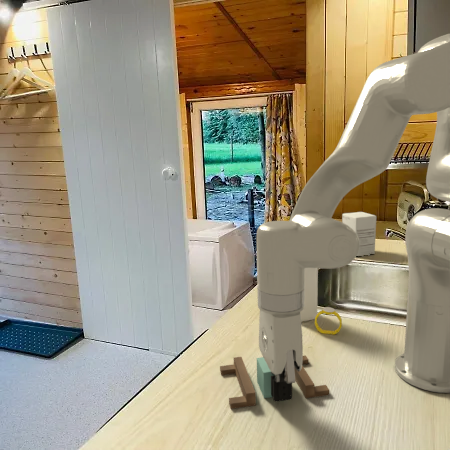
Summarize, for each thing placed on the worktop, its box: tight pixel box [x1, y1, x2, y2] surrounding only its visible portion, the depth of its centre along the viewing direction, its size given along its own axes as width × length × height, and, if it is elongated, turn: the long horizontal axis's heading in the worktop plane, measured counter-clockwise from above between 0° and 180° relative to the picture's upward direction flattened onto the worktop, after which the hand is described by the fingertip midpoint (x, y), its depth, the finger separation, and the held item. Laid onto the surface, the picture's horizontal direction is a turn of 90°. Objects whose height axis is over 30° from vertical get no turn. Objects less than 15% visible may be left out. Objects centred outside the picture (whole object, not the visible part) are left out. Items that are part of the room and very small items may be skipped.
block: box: [256, 356, 273, 399], centre depth 76 cm, size 5×5×5 cm
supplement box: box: [341, 211, 377, 257], centre depth 155 cm, size 9×9×15 cm
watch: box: [314, 306, 343, 336], centre depth 96 cm, size 6×3×6 cm, turn 72°
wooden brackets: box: [219, 354, 330, 410], centre depth 78 cm, size 18×12×2 cm
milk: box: [300, 268, 319, 323], centre depth 103 cm, size 6×6×22 cm
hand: (281, 397), depth 71 cm, fingers closed
